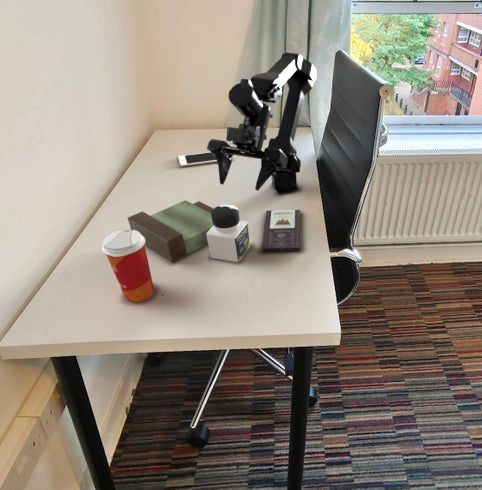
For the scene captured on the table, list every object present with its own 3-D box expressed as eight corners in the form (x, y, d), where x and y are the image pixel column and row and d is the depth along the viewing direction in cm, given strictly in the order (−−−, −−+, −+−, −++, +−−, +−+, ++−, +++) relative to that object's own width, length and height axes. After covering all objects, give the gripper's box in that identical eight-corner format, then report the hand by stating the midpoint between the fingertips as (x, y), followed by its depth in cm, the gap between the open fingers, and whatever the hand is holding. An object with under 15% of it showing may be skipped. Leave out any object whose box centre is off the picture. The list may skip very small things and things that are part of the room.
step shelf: (200, 207, 123) (196, 188, 119) (239, 227, 115) (236, 207, 112) (133, 238, 109) (127, 217, 106) (172, 263, 102) (167, 241, 98)
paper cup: (127, 282, 96) (108, 228, 88) (163, 281, 96) (148, 227, 88) (114, 307, 89) (93, 251, 81) (153, 305, 90) (136, 250, 82)
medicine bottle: (238, 263, 102) (232, 219, 96) (210, 258, 104) (202, 214, 97) (250, 245, 108) (245, 203, 101) (223, 241, 109) (216, 199, 102)
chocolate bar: (262, 248, 106) (266, 210, 120) (262, 252, 106) (266, 213, 121) (299, 247, 106) (299, 209, 121) (300, 250, 107) (299, 212, 122)
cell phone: (178, 157, 148) (178, 155, 148) (226, 151, 154) (226, 149, 154) (180, 167, 143) (180, 165, 142) (231, 160, 148) (230, 158, 148)
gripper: (204, 105, 101) (186, 169, 99) (279, 115, 97) (262, 182, 95) (225, 127, 112) (210, 185, 110) (294, 136, 108) (279, 197, 106)
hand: (238, 187), depth 105 cm, fingers open, 9 cm apart
